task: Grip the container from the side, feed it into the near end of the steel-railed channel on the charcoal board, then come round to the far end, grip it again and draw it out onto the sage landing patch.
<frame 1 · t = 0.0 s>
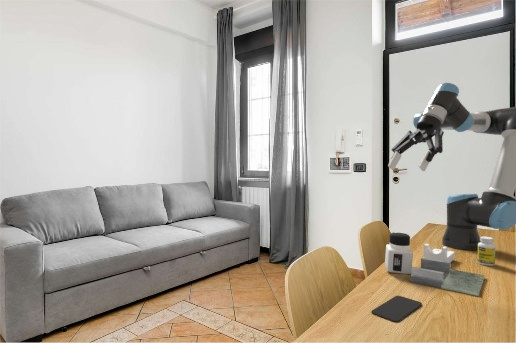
hand: (405, 168, 118), 36 cm above the table, tool tilted 35°, fingers open, 13 cm apart
bracket: (439, 263, 127), on the table
phone: (397, 310, 89), on the table
container: (397, 270, 118), on the table
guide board: (447, 280, 109), on the table
supplement bottle: (486, 264, 125), on the table
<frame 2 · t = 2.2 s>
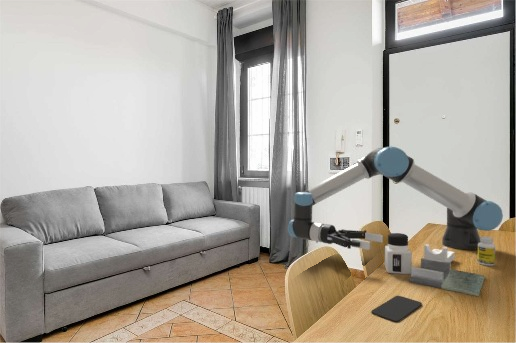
hand: (376, 242, 123), 9 cm above the table, tool horizontal, fingers open, 13 cm apart
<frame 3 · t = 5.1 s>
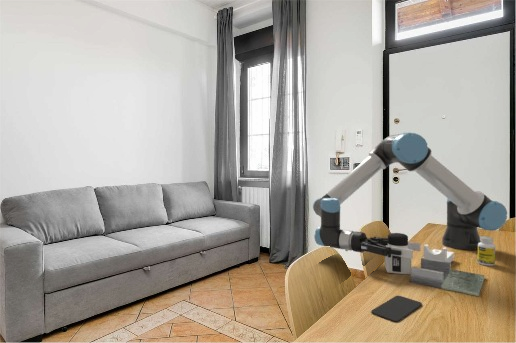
hand: (416, 250, 114), 8 cm above the table, tool horizontal, fingers open, 10 cm apart
container: (397, 270, 118), on the table, touching gripper
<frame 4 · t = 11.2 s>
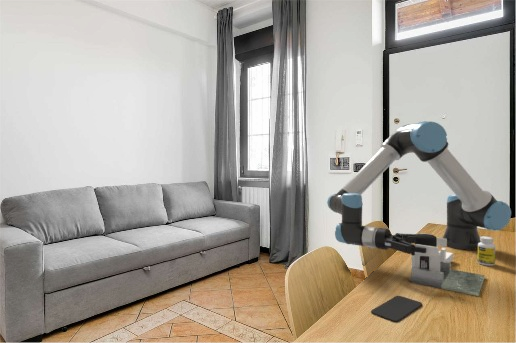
hand: (442, 247, 109), 11 cm above the table, tool horizontal, fingers open, 13 cm apart
bracket: (437, 265, 125), on the table
container: (425, 273, 113), point 1 cm above the table, touching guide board
everything else where it was.
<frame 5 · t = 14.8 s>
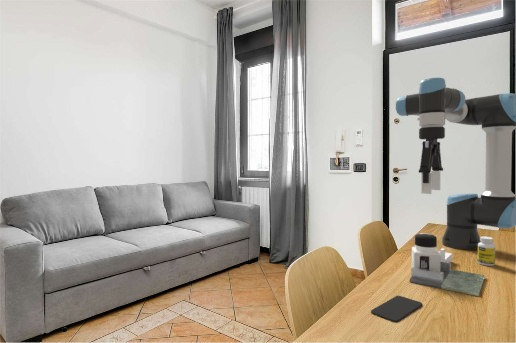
hand: (431, 191, 111), 28 cm above the table, tool pointing down, fingers open, 13 cm apart
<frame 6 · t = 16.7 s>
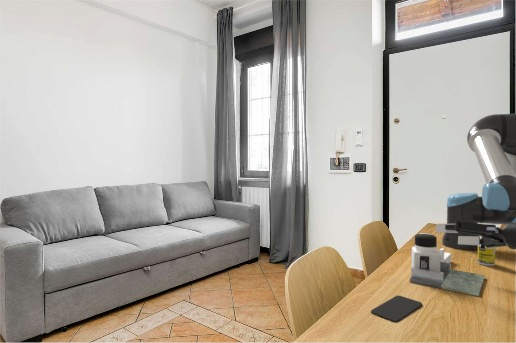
hand: (447, 234, 111), 14 cm above the table, tool horizontal, fingers open, 13 cm apart
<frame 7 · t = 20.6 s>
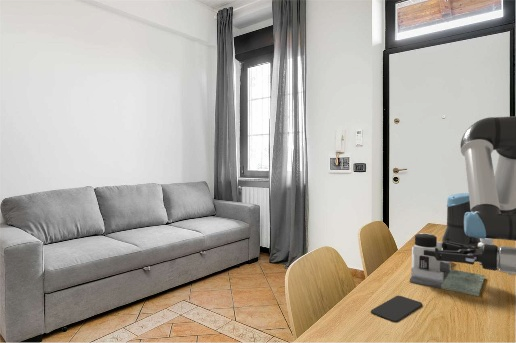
hand: (417, 246, 114), 9 cm above the table, tool horizontal, fingers closed on container, 9 cm apart
container: (425, 273, 113), point 1 cm above the table, touching gripper, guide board
when the fingers open (11 cm above the table, at t = 23.3 s): container drops 1 cm, resting on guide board.
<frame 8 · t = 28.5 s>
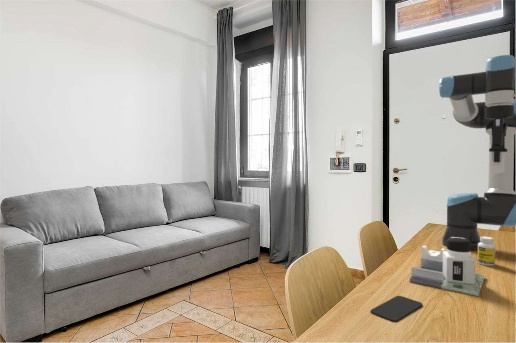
hand: (498, 172, 108), 35 cm above the table, tool pointing down, fingers open, 13 cm apart
bracket: (436, 265, 125), on the table, touching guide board
container: (458, 279, 107), point 1 cm above the table, touching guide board
everything else where it was.
at the end: container inside the target area (2.0 cm from its centre), point 0.8 cm above the table; container tilted 0°; the gripper is holding nothing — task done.
